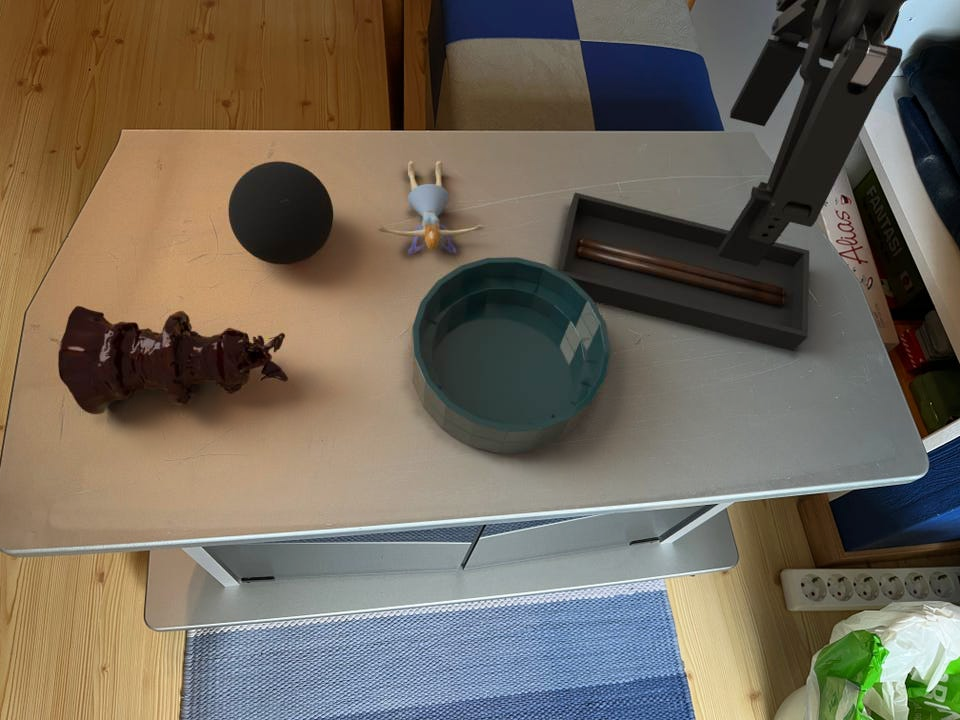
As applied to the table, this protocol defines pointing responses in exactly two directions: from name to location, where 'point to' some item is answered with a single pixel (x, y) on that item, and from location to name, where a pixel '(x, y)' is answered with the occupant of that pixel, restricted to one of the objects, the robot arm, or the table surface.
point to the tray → (677, 297)
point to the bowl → (508, 354)
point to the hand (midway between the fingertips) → (742, 184)
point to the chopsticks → (681, 272)
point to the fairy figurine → (429, 211)
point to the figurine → (155, 359)
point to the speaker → (280, 213)
